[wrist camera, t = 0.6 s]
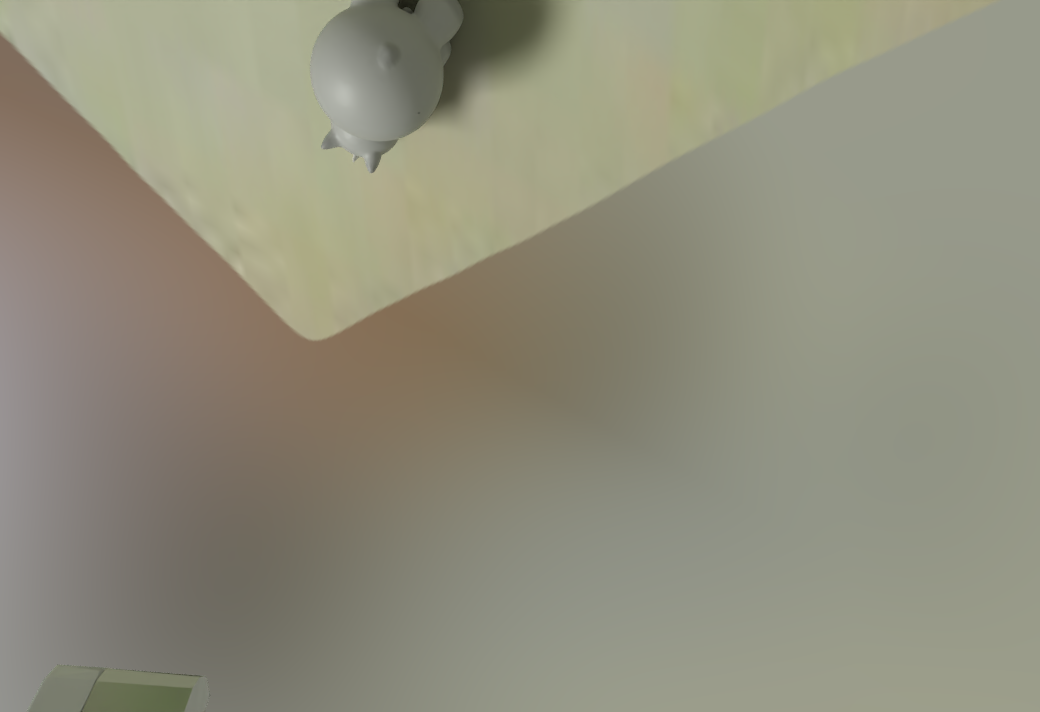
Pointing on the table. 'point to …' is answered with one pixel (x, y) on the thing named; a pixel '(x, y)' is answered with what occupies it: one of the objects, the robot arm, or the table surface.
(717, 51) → the table surface
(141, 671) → the robot arm
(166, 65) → the table surface
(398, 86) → the round bodied animal figurine
